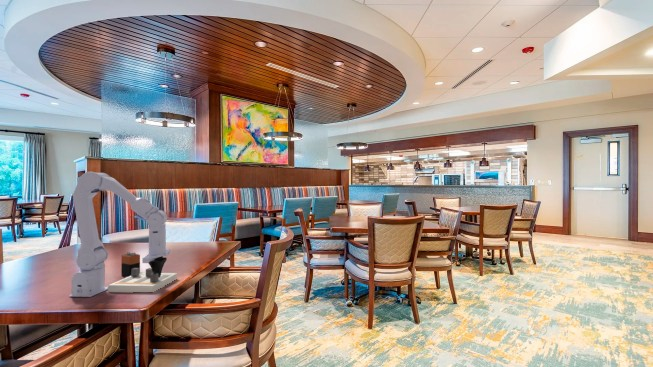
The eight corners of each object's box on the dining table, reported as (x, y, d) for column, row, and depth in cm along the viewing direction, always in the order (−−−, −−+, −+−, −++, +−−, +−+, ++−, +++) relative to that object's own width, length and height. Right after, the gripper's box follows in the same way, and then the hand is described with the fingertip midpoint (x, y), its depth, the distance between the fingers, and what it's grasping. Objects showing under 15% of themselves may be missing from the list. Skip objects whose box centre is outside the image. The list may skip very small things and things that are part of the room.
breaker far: (136, 276, 119) (136, 269, 119) (131, 276, 120) (131, 269, 120) (139, 274, 121) (139, 267, 121) (134, 274, 122) (134, 267, 122)
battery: (130, 278, 126) (130, 254, 126) (120, 275, 129) (120, 252, 130) (140, 275, 130) (140, 252, 130) (131, 273, 133) (131, 250, 133)
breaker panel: (153, 292, 109) (153, 285, 109) (108, 292, 110) (108, 284, 110) (177, 279, 125) (177, 272, 125) (137, 278, 126) (137, 272, 126)
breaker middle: (150, 276, 119) (150, 269, 119) (145, 276, 119) (145, 269, 119) (153, 275, 121) (153, 268, 121) (148, 275, 121) (148, 268, 121)
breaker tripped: (155, 281, 113) (155, 274, 113) (150, 281, 113) (150, 274, 113) (158, 280, 115) (158, 272, 115) (153, 280, 115) (153, 272, 115)
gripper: (155, 245, 108) (155, 283, 108) (177, 238, 123) (177, 271, 122) (136, 245, 108) (136, 283, 108) (160, 238, 123) (160, 271, 123)
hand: (157, 277), depth 115 cm, fingers closed
